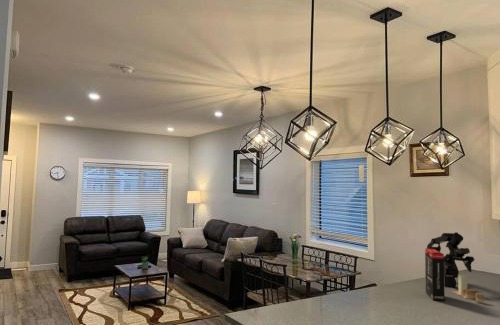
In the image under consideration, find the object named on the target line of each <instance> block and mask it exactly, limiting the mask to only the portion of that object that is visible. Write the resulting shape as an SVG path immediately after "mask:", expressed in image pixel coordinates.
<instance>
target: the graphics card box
mask: <svg viewBox="0 0 500 325" xmlns="http://www.w3.org/2000/svg"><path fill="white" fill-rule="evenodd" d="M444 256H445V254H444V253H442V252H441V251H440V252H439V251H437V250H435V249H427V247H426V248H425V249H424V259H425V260H424V262H425V264H424V265H425V269H424V272H425V273H424V274H425V293H426V294H427V296H429V298H430V299H431V300H432V301H437V302H445V300H446V299H445V286H444Z"/></svg>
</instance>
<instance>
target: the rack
mask: <svg viewBox="0 0 500 325" xmlns="http://www.w3.org/2000/svg"><path fill="white" fill-rule="evenodd" d="M463 292H464V295H461V297H462V298H464V299H468V300H475V303H476V304H485V294H484V293H477V290H474V289H471V288H469V289H468V288H467V289H463Z"/></svg>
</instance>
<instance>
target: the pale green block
mask: <svg viewBox="0 0 500 325" xmlns="http://www.w3.org/2000/svg"><path fill="white" fill-rule="evenodd" d="M457 279H458V280H457V281H458V284H457V286H458V290H457V291H458V292H459V293H461V294H464V292H463V289H468V275H466V274H463V273H462V274H461V273H458V278H457Z"/></svg>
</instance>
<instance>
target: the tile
mask: <svg viewBox="0 0 500 325" xmlns="http://www.w3.org/2000/svg"><path fill="white" fill-rule="evenodd" d="M451 292H452V293H454V294H456V295H458V296H462V295H464V294H461V293H459V292H458V290H451Z"/></svg>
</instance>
